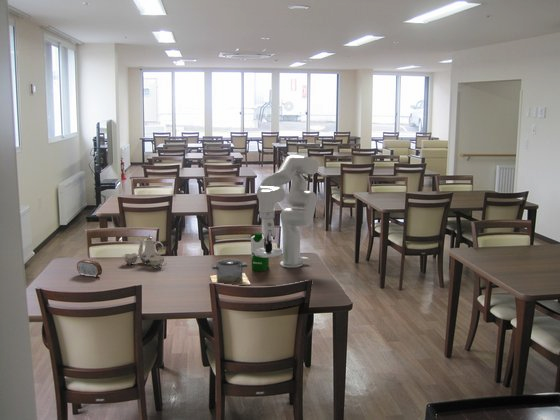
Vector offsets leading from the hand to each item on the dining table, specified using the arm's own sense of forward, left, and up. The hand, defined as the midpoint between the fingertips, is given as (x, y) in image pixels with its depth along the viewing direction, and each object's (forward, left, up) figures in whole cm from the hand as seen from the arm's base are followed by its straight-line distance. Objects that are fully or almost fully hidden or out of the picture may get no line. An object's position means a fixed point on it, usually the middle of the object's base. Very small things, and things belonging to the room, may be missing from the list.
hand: (268, 249), depth 291 cm
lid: (0, 0, -2) cm, 2 cm away
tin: (+90, -29, -16) cm, 96 cm away
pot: (+20, -2, -16) cm, 25 cm away
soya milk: (+1, -19, -16) cm, 25 cm away
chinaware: (+60, -44, -16) cm, 76 cm away
